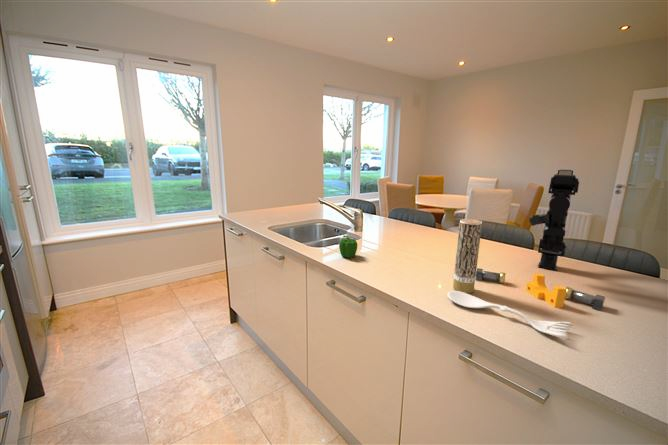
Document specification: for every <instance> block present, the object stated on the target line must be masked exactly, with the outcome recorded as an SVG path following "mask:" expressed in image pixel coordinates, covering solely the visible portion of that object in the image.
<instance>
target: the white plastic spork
mask: <svg viewBox="0 0 668 445" xmlns="http://www.w3.org/2000/svg"><path fill="white" fill-rule="evenodd" d="M447 297H448V299H450V301H452V302H453V303H455V304H456V305H459V306H461V307H464V308H469V309H486V308H494V309H499V310H501V311H502V312H507V313H511V314H514V315H516V316H518V317H520V318H522V319H523V320H524V321H525V322H527V323H528V324H529V325H530V326H531V327H532V328H534V329H535V330H536V331H538V332H540V333H544V334H547V335H551V336H553V337H557V338H559V339H565V340H568V339H569V336H568V335H569V334H568V331H569V330H570V328H571V327H572V326H573V323H572V322H569V321H551V320H535V319H532V318H530V317H529V316H527V315H525V314H524V313H522V312H521V311H519V310H517V309H513V308H510V307H508V306H507V305H501V304H495V303H491V302H488V301H485V300H484V299H481V298H479V297H477V296H474V295H472V294H470V293H464V292H460V291H456V290H450V291H448V293H447Z"/></svg>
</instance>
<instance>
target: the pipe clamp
mask: <svg viewBox="0 0 668 445" xmlns="http://www.w3.org/2000/svg"><path fill="white" fill-rule="evenodd" d="M545 278H546V277H545V275H544V274H542V273H533V276H532V281H530V282H529V281H528V282H526V285H525V291H526V292H527V293H529V294H530V295H532V296H533V297H534V298H536V299H537V300H543V301H545V302H546V303H548V304H549V305H550V306H552V307H553V308H559V309H561V308H564V305H565V300H566V299H565V296H566V291H567V289H566V287H565V286H562V285H561V286H558V285H555V286H553V289H552V290H551V291H550V290H549V288H548V287H547V284H546V279H545Z"/></svg>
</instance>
